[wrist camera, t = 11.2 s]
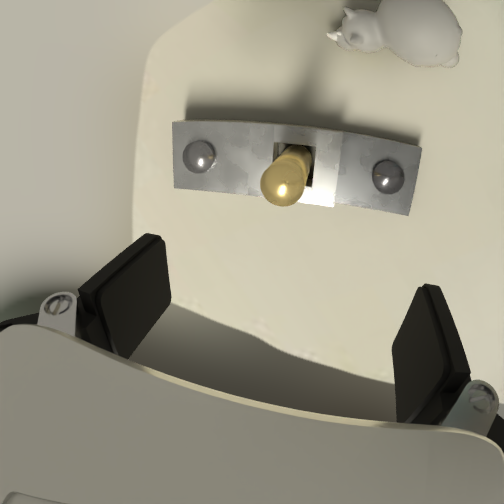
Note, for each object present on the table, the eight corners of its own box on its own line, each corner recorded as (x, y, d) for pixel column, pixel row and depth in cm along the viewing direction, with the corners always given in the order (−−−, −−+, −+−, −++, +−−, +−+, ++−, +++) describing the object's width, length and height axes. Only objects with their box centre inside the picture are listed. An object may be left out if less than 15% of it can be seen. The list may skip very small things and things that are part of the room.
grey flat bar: (417, 145, 24) (428, 151, 21) (405, 211, 27) (413, 223, 24) (185, 119, 28) (169, 122, 25) (185, 181, 32) (171, 189, 29)
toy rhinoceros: (339, 14, 21) (301, -12, 15) (450, 10, 14) (449, -25, 8) (350, 74, 24) (316, 63, 19) (464, 77, 17) (472, 62, 12)
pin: (282, 143, 27) (261, 161, 19) (313, 146, 27) (306, 166, 18) (280, 172, 29) (259, 203, 20) (310, 176, 28) (301, 209, 20)
